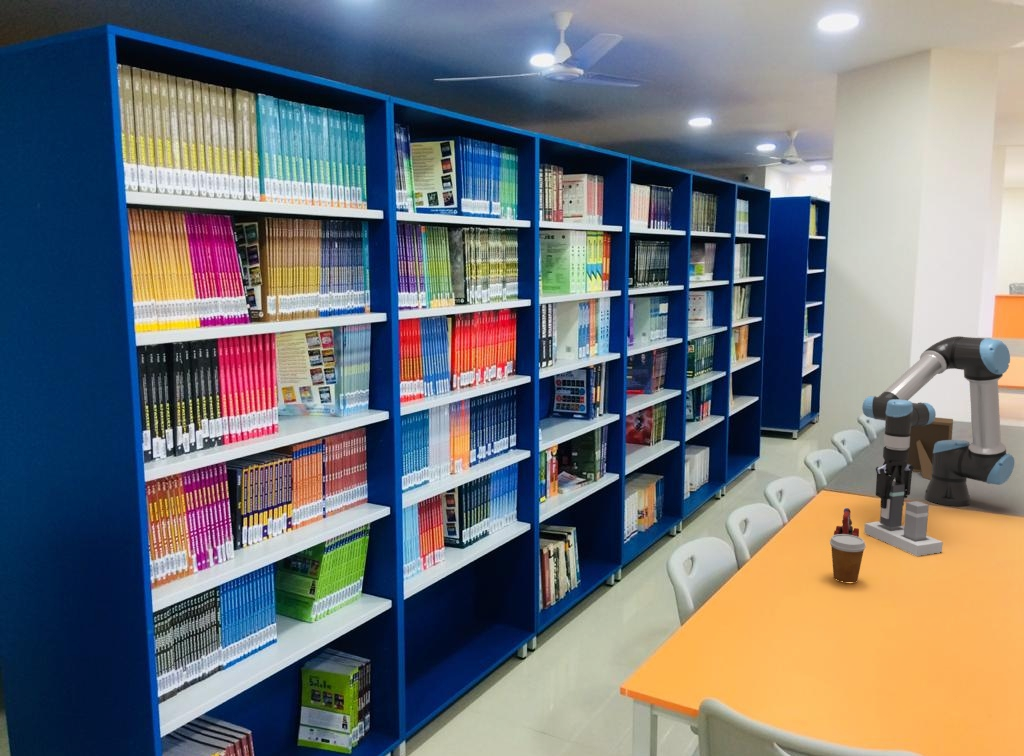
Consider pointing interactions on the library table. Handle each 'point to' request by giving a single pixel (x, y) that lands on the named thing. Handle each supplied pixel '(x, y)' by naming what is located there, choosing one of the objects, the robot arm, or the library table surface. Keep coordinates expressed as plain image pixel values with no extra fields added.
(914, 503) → the grey square plug
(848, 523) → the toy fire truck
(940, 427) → the photo frame
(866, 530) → the white slotted plate
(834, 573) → the disposable coffee cup
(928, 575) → the library table surface
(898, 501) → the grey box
